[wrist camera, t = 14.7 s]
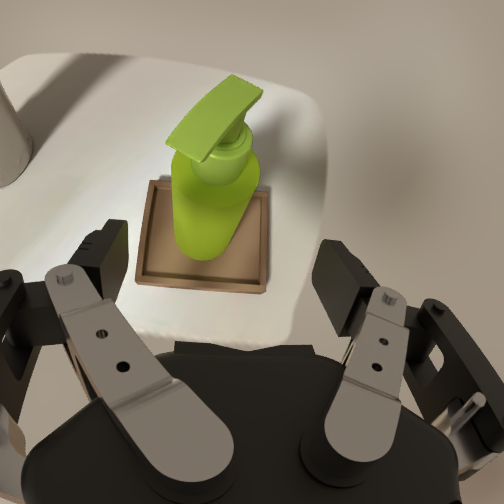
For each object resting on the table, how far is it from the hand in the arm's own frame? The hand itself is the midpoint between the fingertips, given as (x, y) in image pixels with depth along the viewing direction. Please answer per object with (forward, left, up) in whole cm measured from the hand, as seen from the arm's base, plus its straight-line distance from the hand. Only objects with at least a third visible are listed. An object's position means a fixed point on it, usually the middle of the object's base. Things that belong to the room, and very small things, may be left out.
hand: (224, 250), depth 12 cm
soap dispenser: (0, +7, -19) cm, 20 cm away
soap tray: (0, +7, -20) cm, 21 cm away
